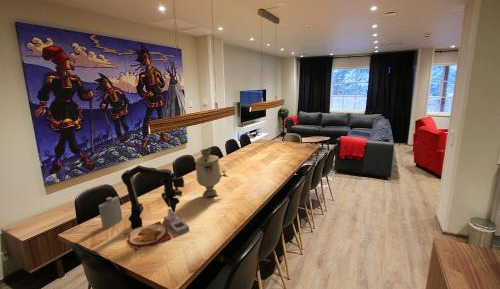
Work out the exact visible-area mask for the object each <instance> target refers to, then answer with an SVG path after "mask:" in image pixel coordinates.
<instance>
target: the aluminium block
mask: <svg viewBox="0 0 500 289" xmlns="http://www.w3.org/2000/svg"><path fill="white" fill-rule="evenodd" d="M176 210H177V209H175V212H173V211H172V209H171V208H168V209H167V210H166V211H167V216H168V218H169V219H170V220H173V219H176V218H177V216H176V214H177V211H176Z"/></svg>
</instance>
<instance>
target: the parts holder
mask: <svg viewBox="0 0 500 289" xmlns="http://www.w3.org/2000/svg"><path fill="white" fill-rule="evenodd" d="M176 216H177V218H176V219H173V220H170V219H169V218H168V215H166V216H163V221H164V223H165V224H166V225H167V226H168V227H169V228H170V229H171V231H172V232H173V234H175V236H179V235H181V234H182V235H183V234H185V233H187V232H190V226H189V224H187V222H185V221H184V220H183V219H182V218H181V217H180V216H179V215H178V214H177V213H176Z"/></svg>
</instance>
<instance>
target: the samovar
mask: <svg viewBox="0 0 500 289" xmlns="http://www.w3.org/2000/svg"><path fill="white" fill-rule="evenodd" d="M211 151H212V149H210V148H203V149H200V150H199V152H201V156H200V157H197V158H195V159H194V163H195V172H196V173H195V174H196V180H197V183H198V184H199V185H200V186H202V187H205V190H204V191H203V193H202V195H204V199H205V200H207V199H208V198H209V197H213V196H216V197H219V195H218V194H217V190H216V189H214V188H215V186H216V185H217V184H218V183H219V182H220V181H221V179H222V177H224V178H229V175H227V174H226V172H227V171H226V170H221V169H220V168H221V167H220V162H219V158H220V157H219V156H218V155H214V154H211ZM220 170H221V171H220ZM221 173H223V174H221Z"/></svg>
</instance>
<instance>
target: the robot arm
mask: <svg viewBox="0 0 500 289" xmlns="http://www.w3.org/2000/svg"><path fill="white" fill-rule="evenodd" d="M137 174H144V175H149V176H153V177H158V179H161V180H160V184H163V188H164V189H163V192H161V198H162V199H163V201H164V203H165V204H166V206H167V207H168V208H170V209H172V211H173V212H175V210H176V208H177V205H178V204H180V199H179V198H178V197H182V196H183V195H182V194H183V190H181V189H179V188H185V179H184V177H183V176H181V177H176V176H175V175H174V174H173V172H172V170H171V169H169V168H166V169H165V168H163V169H159V168H152V167H147V166H143V165H140V164H139V165H136V166H135V167H133V168H131V169H127V170H125V171H124V172H123V173H122V174H121V176H120V178H121V181H122V182H123V184H124V186H126V189H127V193H128V196H129V201H130V204H131V208H130V209H131V210H130V216H129V217H128V220H129V222H130V227H131V229H132V230H136V229H139V228H141V227H143V219H142V217H141V215H142V213H143V211H144V205H143V203H142V202H141V203H140V202H139V198H138V194H137V192H136V187H135V184H134V179H135V176H136V175H137ZM177 196H178V197H177Z"/></svg>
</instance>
